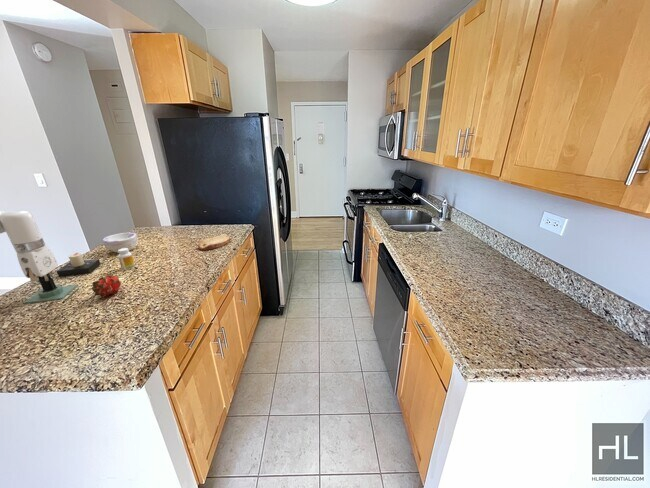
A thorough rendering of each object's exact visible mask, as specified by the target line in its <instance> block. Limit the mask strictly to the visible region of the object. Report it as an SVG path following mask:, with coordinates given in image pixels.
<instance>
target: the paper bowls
mask: <svg viewBox="0 0 650 488" xmlns="http://www.w3.org/2000/svg"><path fill="white" fill-rule="evenodd" d="M102 242H103V245H104V248H105V249H106V250H110V251H111V252H113V253H117V254H119V253H118V250H119V249H122V248H128V250H129V251H131V250H133V249H135V246H136V245H138V243H139V240H138V236H137V234H136V233H134V232H120V233H115V234H110V235H108V236H105V237H104V238H103V239H102Z"/></svg>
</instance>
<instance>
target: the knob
mask: <svg viewBox="0 0 650 488" xmlns="http://www.w3.org/2000/svg"><path fill="white" fill-rule="evenodd" d="M68 259H69V262H71V264H72V266H73V267H78V266H81V265H84V264H85V263H84V261H85V260H84V258H83V255H82V253H79V252H75V253H73V254H70V255H68Z"/></svg>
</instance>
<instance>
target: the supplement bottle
mask: <svg viewBox="0 0 650 488" xmlns="http://www.w3.org/2000/svg"><path fill="white" fill-rule="evenodd" d="M117 258H118V263H119V264H120V267H121V270H123V271H127V270H132V269H134V268H135V267H136V263H135V260H134V257H133V254H132V253H131V252H130V250H128V248H122V249H119V250H118V253H117Z"/></svg>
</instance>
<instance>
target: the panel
mask: <svg viewBox="0 0 650 488" xmlns="http://www.w3.org/2000/svg"><path fill="white" fill-rule="evenodd" d="M84 263H85V264H84V265H81V266H78V267H73V266H72V264H71V262H70V261H69V262H68V263H66V264H65V265H63V266H61V267H60V268H59V269H57V270H56V275H57V277H59V278H63V277H72V276H82V275H89V274H91V273H93V272H94V271H95V270H96V269H98V268H99V267H100V266H102V264H101V261H100V259H99V258H96V259H87V260H84Z"/></svg>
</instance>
